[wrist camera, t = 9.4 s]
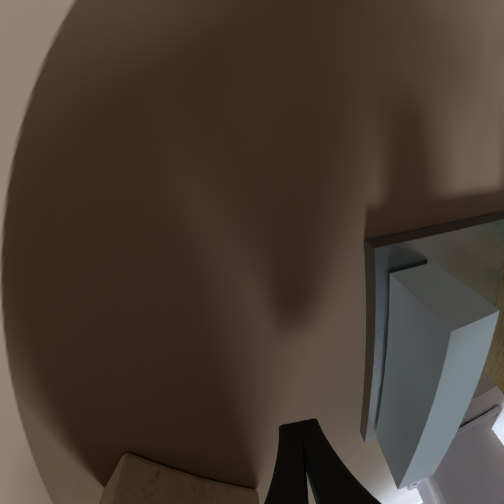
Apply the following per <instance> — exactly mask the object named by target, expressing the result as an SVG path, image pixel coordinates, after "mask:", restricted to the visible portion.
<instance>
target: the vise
mask: <svg viewBox="0 0 504 504" xmlns="http://www.w3.org/2000/svg"><path fill="white" fill-rule="evenodd" d="M364 248H365V267H366V303H367V328H366V364H365V382H364V396H363V408H362V419H361V428H360V432H361V435H362V438H363V440H364V443H368V442H371V441H374V440H377V437H376V435H375V434H376V429H377V423H378V417H379V411H380V404H381V397H382V389H383V381H384V373H385V363H386V352H387V339H388V322H389V294H390V273H393V272H397V271H401V270H405V269H409V268H413V267H417V266H421V265H425V264H429V263H432V262H433V263H435V264H436V265H438V266H439V267H441V268H442V269H444V270H445V271H446V272H448V273H449V274H451V275H452V276H454V277H455V278H456V279H458V280H459V281H461V282H462V283H463V284H465V285H466V286H468V287H469V288H470V289H472V290H473V291H474V292H476V293H477V294H479V295H480V296H481V297H483V298H484V299H485V300H487V301H488V302H489V303H490V304H492V305H493V306H494V304H495V299H496V293H497V288H498V281H499V275H500V271H501V270H504V211H502V212H498V213H493V214H488V215H484V216H479V217H474V218H469V219H465V220H460V221H455V222H450V223H446V224H441V225H436V226H431V227H426V228H421V229H416V230H412V231H407V232H402V233H397V234H392V235H387V236H382V237H377V238H372V239H367V240H364ZM494 386H496V384H495V383H494V382H493V380H492V379H491V378H490V377H489V376H488V375H487V374H486V373H485V371H484V370H482V373H481V376H480V379H479V381H478V384H477V387H476V389H475V392H474V394H473V397H472V399H473V398H475V397H477V396H478V395H480V394H482V393H484V392H486V391H487V390H489V389H491V388H492V387H494Z"/></svg>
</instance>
